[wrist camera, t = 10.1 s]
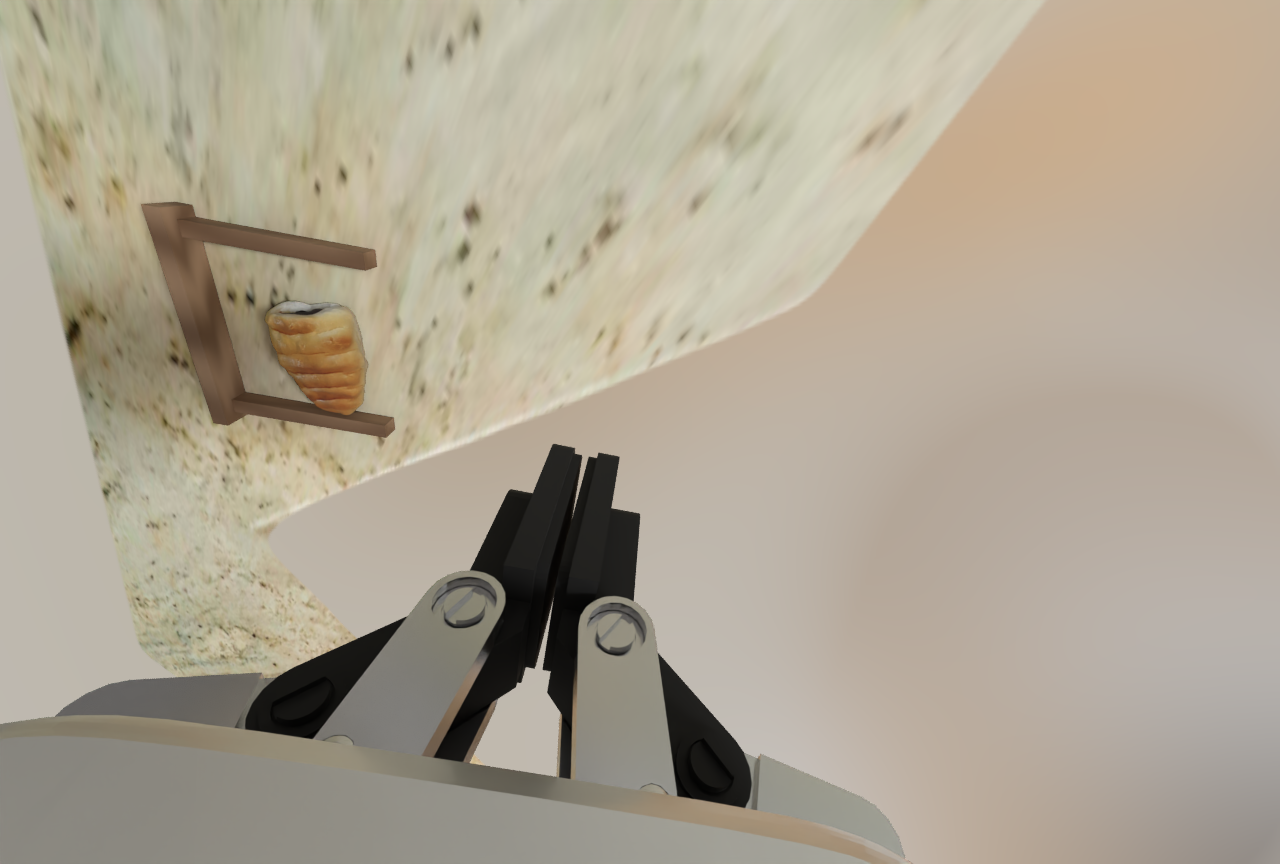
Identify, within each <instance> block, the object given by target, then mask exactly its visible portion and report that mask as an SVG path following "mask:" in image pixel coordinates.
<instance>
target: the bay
mask: <svg viewBox="0 0 1280 864" xmlns="http://www.w3.org/2000/svg"><path fill="white" fill-rule="evenodd" d="M141 206H142V209H143V212H144V215H145V218H146V221H147V224H148V227H149V230H150V233H151V236H152V239H153V242H154V245H155V248H156V251H157V254H158V257H159V260H160V263H161V266H162V269H163V272H164V275H165V278H166V281H167V284H168V287H169V290H170V293H171V296H172V299H173V302H174V305H175V308H176V311H177V314H178V317H179V320H180V323H181V326H182V329H183V332H184V335H185V338H186V341H187V344H188V347H189V350H190V353H191V356H192V359H193V362H194V365H195V368H196V371H197V374H198V377H199V380H200V383H201V386H202V389H203V392H204V395H205V398H206V401H207V404H208V408H209V411H210V414H211V417H212V420H213V423H216V424H222V425H230V424H231V423H233V422H235V421H237V420H238V419H240V418H242V417H244V416H245V415H247V414H250V415H256V416H262V417H267V418H273V419H279V420H285V421H291V422H297V423H303V424H309V425H314V426H320V427H326V428H332V429H338V430H344V431H350V432H355V433H361V434H367V435H373V436H379V437H385V438H386V437H387V436H388V435H390V434H391V433H392V432H393V431H394V430H395V425H394V418H392V417H386V416H381V415H375V414H369V413H363V412H357V411H354V412H353V413H352V414H350V415H343V414H341V413H335V412H329V411H326V410H323V409H321V408H319V407H317V406H316V405H315V404H311V403H305V402H299V401H293V400H288V399H282V398H276V397H270V396H264V395H258V394H253V393H247V392H245V389H244V386H243V382H242V379H241V375H240V372H239V368H238V365H237V361H236V358H235V354H234V350H233V347H232V343H231V340H230V336H229V333H228V329H227V326H226V322H225V319H224V315H223V312H222V308H221V305H220V301H219V298H218V294H217V290H216V287H215V283H214V280H213V276H212V273H211V269H210V266H209V262H208V259H207V255H206V252H205V248H204V245H203V241H206V242H211V243H217V244H222V245H228V246H233V247H239V248H244V249H250V250H255V251H261V252H266V253H272V254H277V255H283V256H288V257H294V258H299V259H305V260H310V261H316V262H321V263H327V264H332V265H338V266H344V267H349V268H355V269H360V270H368V269H371V268H374V267H377V263H376V254H375V250H373V249H367V248H362V247H356V246H351V245H345V244H340V243H335V242H329V241H324V240H318V239H313V238H307V237H302V236H296V235H291V234H285V233H280V232H274V231H269V230H263V229H258V228H253V227H247V226H242V225H236V224H231V223H225V222H220V221H214V220H209V219H203V218H198V217H196V216H195V213H194V209H193V206H192V205H189V204H184V203H178V202H167V203H152V204H141Z"/></svg>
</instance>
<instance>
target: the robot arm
mask: <svg viewBox="0 0 1280 864" xmlns="http://www.w3.org/2000/svg"><path fill="white" fill-rule="evenodd" d="M581 461H582V455H578V454H575V448H572V447H567V446H562V445H557V444H553V445H552V448H551V450H550V452H549V455H548V457H547V460H546V462H545V465H544V467H543V470H542V472H541V474H540V477H539V479H538V482H537V484H536V487H535V489H534V492H533V493H527V492H522V491H517V490H512V489H511V490H509V491H508V493H507V495H506V497H505V499H504V501H503V503H502V505H501V507H500V509H499V511H498V513H497V516H496V518H495V520H494V522H493V524H492V526H491V528H490V530H489V532H488V534H487V536H486V539H485V540H484V543H483V545H482V547H481V549H480V551H479V553H478V555H477V557H476V559H475V561H474V563H473V565H472V567H471V569H470V571H460V572H456V573H453V574H450V575H447V576H445V577H444V578H442V579H440V580H438V581H437V582H436V583H435V584H434V585H433V586H432V587H431V588H430V589H429V590H428V591H427V592H426V593H425V595H424V596H423V597H422V599H421V600H420V601H419V602H418V604H417V605H416V606H415V608H414V609H413V610H412V612H411V613H410V614H409V615H408V616H407V617H405V618H402V619H400V620H398V621H396V622H394V623H391V624H389V625H387V626H385V627H383V628H380V629H378V630H376V631H374V632H372V633H369V634H367V635H365V636H363V637H360V638H358V639H356V640H354V641H351V642H349V643H347V644H345V645H343V646H340V647H338V648H336V649H334V650H331V651H329V652H327V653H325V654H323V655H320V656H318V657H316V658H314V659H312V660H309V661H307V662H305V663H303V664H300V665H298V666H296V667H294V668H292V669H290V670H289V671H287V672H285V673H283V674H282V675H280V676H278V677H277V678H264V676H263V674H262V673H246V674H228V675H211V676H193V677H176V678H160V679H141V680H128V681H123V682H118V683H112V684H108V685H106V686H104V687H101V688H99V689H96V690H94V691H92V692H89V693H87V694H85V695H83V696H82V697H80V698H79V699H77V700H76V701H74V702H72V703H71V704H69V705H68V706H66V707H65V708H63V709H62V710H61V711H60V712H59V713H58V714H57V715H56V716H55V717H46V718H38V719H31V720H25V721H18V722H11V723H4V724H0V864H913V863H911V862H910V861H908V860H906V859H905V855H904V852H903V849H902V846H901V842H900V839H899V836H898V835H897V833H896V831H895V830H894V828H893V826H892V825H891V823H890V821H889V820H888V819H887V817H886V816H885V815H884V814H882V812H881V811H880V810H879V809H878V808H877V807H876V806H875V805H874V804H872V803H870V802H869V801H867V800H865V799H864V798H862V797H860V796H858V795H856V794H853V793H851V792H849V791H846V790H844V789H842V788H839V787H837V786H835V785H832V784H830V783H828V782H825V781H823V780H821V779H818V778H816V777H813V776H811V775H809V774H807V773H804V772H802V771H799V770H797V769H795V768H793V767H790V766H788V765H786V764H783V763H781V762H779V761H776V760H774V759H771V758H769V757H767V756H764V755H762V754H760V756H759V757H758V758H755V757H753V756H751V755H748V754H746V753H744V752H743V751H742V749H741V748H740V747H739V745H738V743H737V742H736V741H735V740H734V738H733V737H732V736H731V735H730V734H729V733H728V731H727V730H725V728H724V727H723V726H722V725H721V724H720V722H719V721H718V720H717V719H716V718H715V717H714V716H713V714H712V713H711V712H710V711H709V710H708V709H707V708H706V707H705V705H704V704H703V703H702V702H701V701H700V700H699V699H698V698H697V696H696V695H695V694H694V693H693V692H692V691H691V690H690V689H689V688H688V686H687V685H686V684H685V683H684V682H683V681H682V680H681V678H680V677H679V676H678V675H677V674H676V673H675V672H674V671H673V669H672V668H671V667H670V666H669V665H668V664H667V663H666V661H665V660H664V659H663V658H662V657H661V656H660V655H659V654H658V651H657V643H656V636H655V629H654V626H653V623H652V619H651V618H650V617H649V615H648V613H647V612H646V610H645V609H643V608H642V607H641V606H640V605H638V604H637V603H636V602H634V588H635V575H636V562H637V551H638V538H639V525H640V514H639V513H633V512H628V511H623V510H617V509H612V508H611V506H612V500H613V494H614V488H615V482H616V476H617V470H618V464H619V457H618V456H613V455H608V454H603V453H598V457H597V458H593V457H589V458H588V462H587V465H586V469H585V473H584V477H583V480H582V484H581V488H580V492H579V495H578V499H577V503H576V507H575V511H574V514H573V510H574V503H575V498H576V491H577V486H578V480H579V473H580V467H581ZM572 516H573V518H572ZM553 598H554V600H553ZM552 602H553V606H552ZM551 606H552V613H551V620H550V626H549V632H548V638H547V645H546V651H545V658H544V664H543V670H547V671H551V673H550V679H549V685H548V691H547V693H548V694H549V696H550V697H551V699H552V700H553V702H554V703H555V705H556V706H557V708H558V709H559V711H560V712H561V714H560V719H559V736H558V756H557V776H556V777H553V776H547V775H541V774H534V773H528V772H521V771H515V770H509V769H502V768H496V767H490V766H483V765H477V764H470V761H471V759H472V756H473V754H474V752H475V750H476V748H477V746H478V744H479V742H480V740H481V738H482V735H483V733H484V731H485V729H486V727H487V725H488V723H489V720H490V718H491V716H492V714H493V712H494V710H495V707H496V704H497V700H498V698H500V697H501V696H503V695H504V694H506V693H507V692H509V691H511V690H512V689H514V688H515V687H516V685H517V682H518V683H521V682H522V678H523V675H524V671H525V668H526V667H529V668H535V666H536V663H537V659H538V655H539V652H540V648H541V644H542V640H543V636H544V632H545V629H546V625H547V621H548V617H549V613H550V610H551Z"/></svg>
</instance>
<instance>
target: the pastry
mask: <svg viewBox="0 0 1280 864" xmlns="http://www.w3.org/2000/svg"><path fill="white" fill-rule="evenodd" d="M265 322H266V323H267V324H268V326H269V332H270V337H271V342H272V344H273V347H274V348H275V350H276V351H277V355H278V361H279V363H280V365H281V366H282V367H284V368H285V369H286V370H287V372H288V373H289V375H291V376H292V377H293V378H294V380H295V382H296V383H297V385H299V387H300V389H301V391H302V392H304V394H305V395H306V396H307V398H309V399H310V400H311V401H312V402H313V403H314V404H315V405H316V406H317V407H319V408H321V409H323V410H326V411H329V412H335V413H341V414H343V415H350V414H352V413H353V412H354V411H355V410H356V409H357V408H358V407H359V406H360V405H361V404H362V403H363V401H364V391H365V390H364V386H365V384H366V371H367V368H368V362H367V360H366V359H365V351H364V347H363V342H362V335H361V332H360V329H359V325H358V322H357V320H356V318H355V315H354V314H353V312H352V311H351V310H350V309H349V308H348V307H344V306H340V305H339V304H335V303H322V304H320V303H318V304H312V305H309V304H305V303H303V302H298V301H287V302H283V303H280V304H278V305H276V306H275V307H273V308H272V309H270V310H269V311H268V312H267V314H266V317H265Z"/></svg>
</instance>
